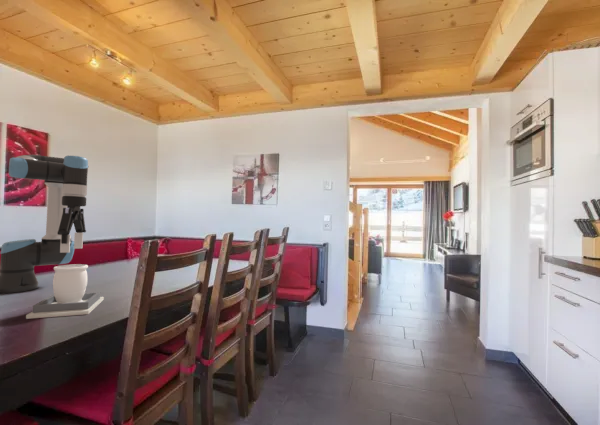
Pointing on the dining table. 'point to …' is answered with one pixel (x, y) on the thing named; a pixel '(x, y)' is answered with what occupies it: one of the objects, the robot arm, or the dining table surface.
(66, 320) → the dining table surface
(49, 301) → the socket board
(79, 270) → the jar
